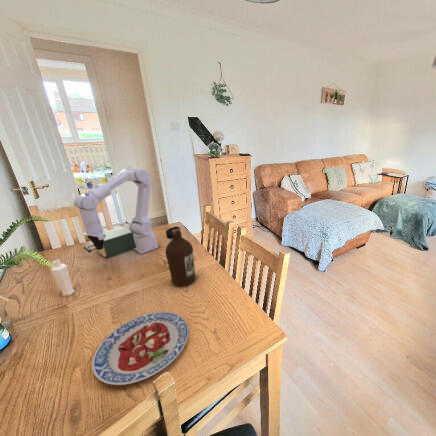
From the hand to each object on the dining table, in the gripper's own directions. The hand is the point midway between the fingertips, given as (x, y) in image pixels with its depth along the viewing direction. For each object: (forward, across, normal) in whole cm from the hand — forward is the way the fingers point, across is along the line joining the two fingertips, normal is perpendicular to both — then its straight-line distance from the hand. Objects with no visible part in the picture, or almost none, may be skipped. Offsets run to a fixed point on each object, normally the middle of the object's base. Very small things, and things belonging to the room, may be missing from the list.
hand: (100, 249), depth 109 cm
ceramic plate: (+11, +58, -10) cm, 60 cm away
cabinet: (+10, -15, +11) cm, 21 cm away
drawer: (+9, -15, +7) cm, 19 cm away
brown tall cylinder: (+11, +25, +22) cm, 35 cm away
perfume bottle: (+11, +8, -16) cm, 21 cm away
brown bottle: (+11, +37, +17) cm, 42 cm away
